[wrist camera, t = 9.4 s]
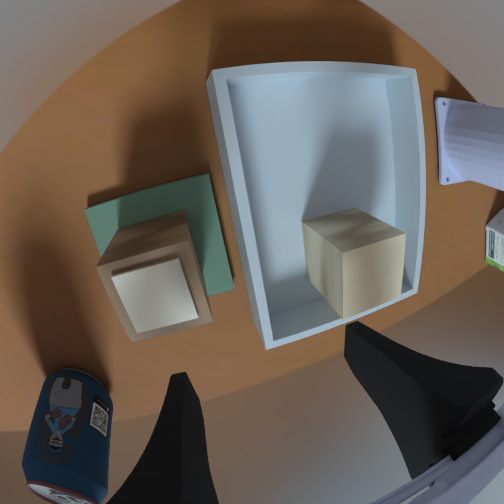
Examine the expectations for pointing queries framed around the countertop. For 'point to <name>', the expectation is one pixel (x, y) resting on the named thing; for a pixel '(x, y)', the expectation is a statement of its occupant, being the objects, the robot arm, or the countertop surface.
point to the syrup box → (495, 241)
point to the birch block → (354, 260)
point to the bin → (315, 174)
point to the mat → (165, 202)
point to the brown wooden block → (155, 277)
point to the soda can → (69, 440)
